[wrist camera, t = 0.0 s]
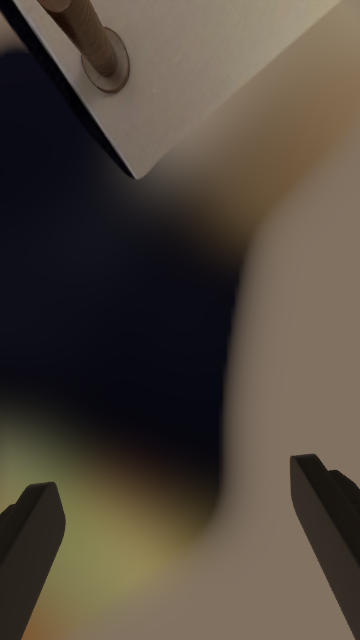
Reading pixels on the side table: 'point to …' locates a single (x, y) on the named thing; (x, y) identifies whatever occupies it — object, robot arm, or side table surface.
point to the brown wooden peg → (92, 42)
